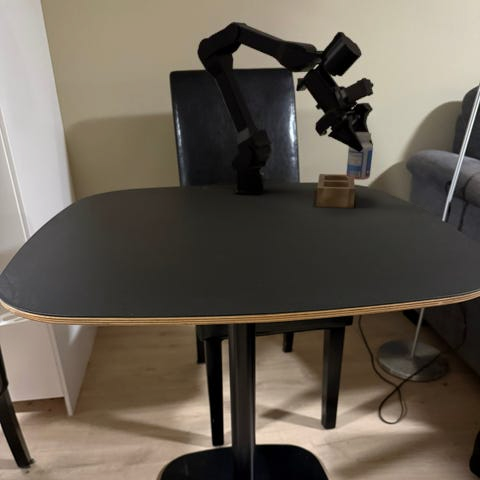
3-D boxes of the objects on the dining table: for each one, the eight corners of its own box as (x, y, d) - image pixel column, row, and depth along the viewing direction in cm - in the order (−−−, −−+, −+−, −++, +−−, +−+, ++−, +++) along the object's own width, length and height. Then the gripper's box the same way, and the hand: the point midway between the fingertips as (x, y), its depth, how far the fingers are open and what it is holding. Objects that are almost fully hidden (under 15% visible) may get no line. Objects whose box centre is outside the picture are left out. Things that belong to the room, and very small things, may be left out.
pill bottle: (362, 174, 115) (367, 131, 110) (373, 179, 110) (379, 134, 105) (341, 175, 113) (345, 131, 109) (352, 180, 109) (357, 135, 104)
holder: (316, 206, 117) (317, 187, 114) (318, 190, 131) (319, 173, 129) (353, 207, 115) (355, 188, 113) (351, 191, 129) (353, 174, 127)
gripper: (333, 64, 96) (378, 128, 96) (369, 63, 109) (409, 119, 109) (296, 105, 104) (338, 164, 103) (334, 100, 117) (371, 151, 117)
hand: (366, 148), depth 108 cm, fingers closed on pill bottle, 5 cm apart
